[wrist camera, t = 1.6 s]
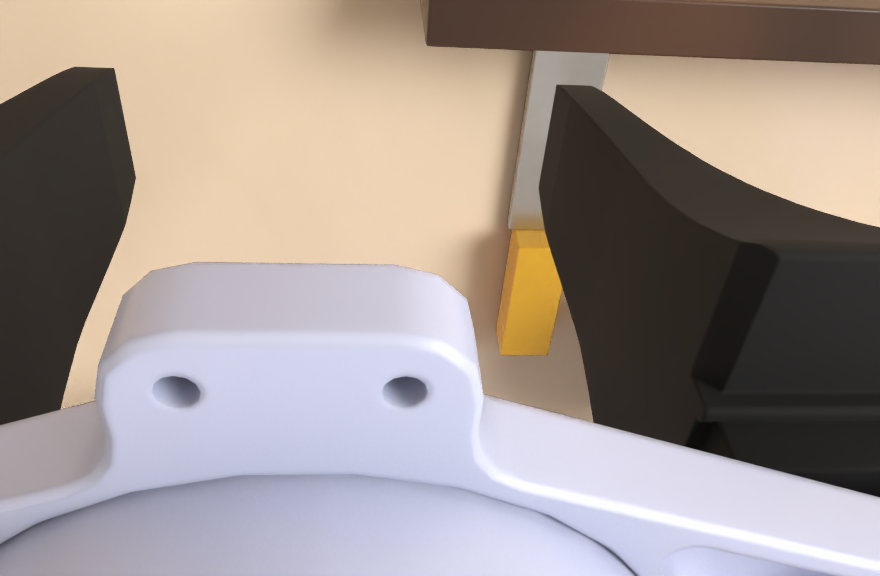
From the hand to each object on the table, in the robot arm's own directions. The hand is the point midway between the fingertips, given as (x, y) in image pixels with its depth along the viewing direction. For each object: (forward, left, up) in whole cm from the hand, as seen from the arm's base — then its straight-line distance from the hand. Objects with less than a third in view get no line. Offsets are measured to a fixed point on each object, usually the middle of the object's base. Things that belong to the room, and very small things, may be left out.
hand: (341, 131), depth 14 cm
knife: (-10, -2, -10) cm, 15 cm away
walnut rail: (-6, -11, -10) cm, 17 cm away
